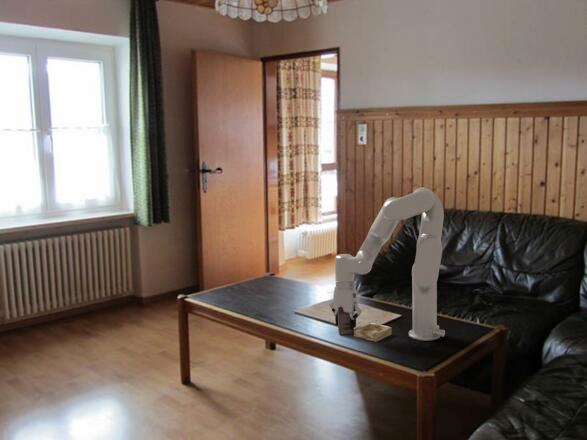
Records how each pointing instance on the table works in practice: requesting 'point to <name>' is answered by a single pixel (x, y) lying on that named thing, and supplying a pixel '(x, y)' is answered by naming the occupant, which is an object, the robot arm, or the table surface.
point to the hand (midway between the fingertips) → (345, 325)
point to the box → (344, 322)
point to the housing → (372, 331)
